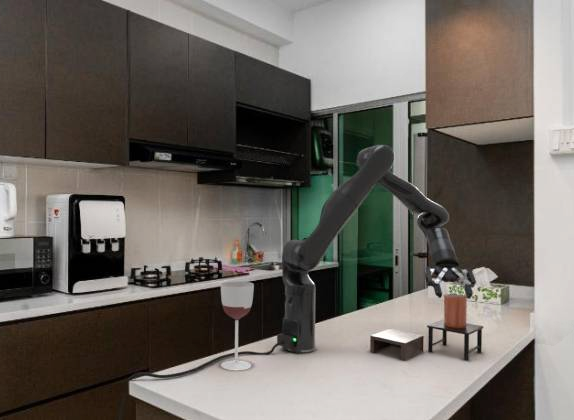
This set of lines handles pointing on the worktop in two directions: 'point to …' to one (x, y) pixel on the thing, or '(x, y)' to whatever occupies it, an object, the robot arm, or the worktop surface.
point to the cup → (455, 310)
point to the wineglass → (236, 313)
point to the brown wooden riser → (398, 342)
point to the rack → (466, 331)
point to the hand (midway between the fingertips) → (455, 296)
